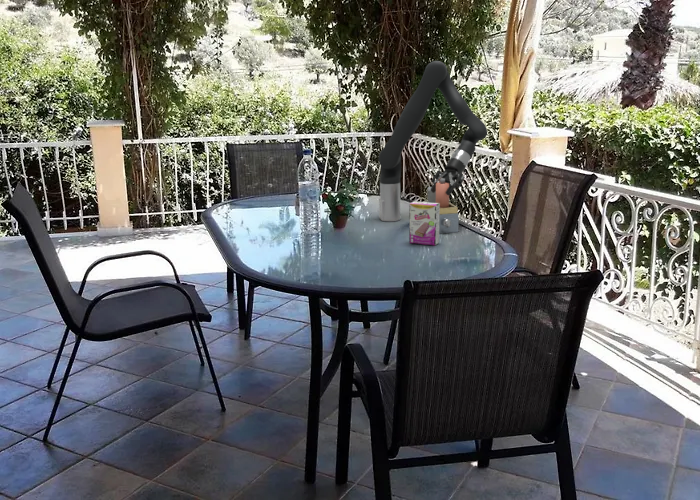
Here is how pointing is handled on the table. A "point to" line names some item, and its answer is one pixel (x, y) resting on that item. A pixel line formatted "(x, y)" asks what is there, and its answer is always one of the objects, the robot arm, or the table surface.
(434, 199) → the skincare box
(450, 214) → the grey tan open box
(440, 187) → the oil can
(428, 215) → the candy bar box
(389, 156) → the robot arm
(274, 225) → the table surface
